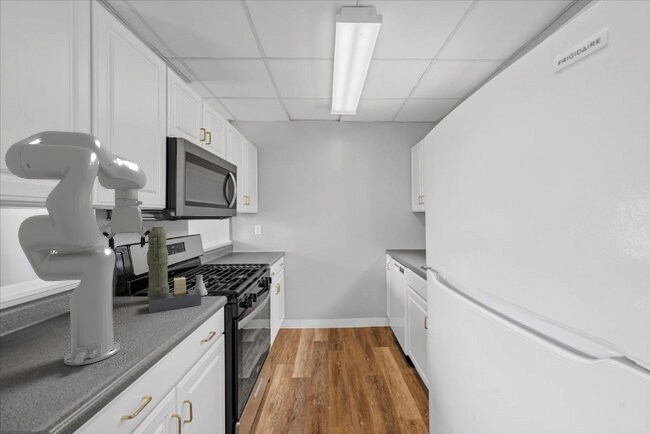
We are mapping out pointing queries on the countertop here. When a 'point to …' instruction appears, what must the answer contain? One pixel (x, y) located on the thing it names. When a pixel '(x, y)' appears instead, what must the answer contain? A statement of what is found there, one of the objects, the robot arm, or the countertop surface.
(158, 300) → the rail
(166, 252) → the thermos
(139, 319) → the countertop surface
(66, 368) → the countertop surface
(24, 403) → the countertop surface
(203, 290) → the flask
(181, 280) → the peg
